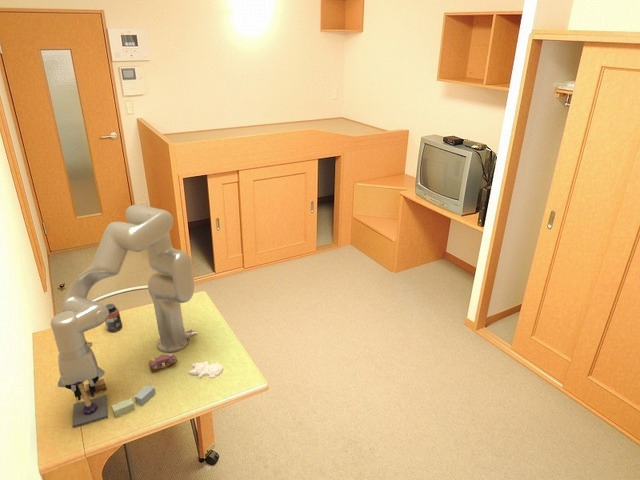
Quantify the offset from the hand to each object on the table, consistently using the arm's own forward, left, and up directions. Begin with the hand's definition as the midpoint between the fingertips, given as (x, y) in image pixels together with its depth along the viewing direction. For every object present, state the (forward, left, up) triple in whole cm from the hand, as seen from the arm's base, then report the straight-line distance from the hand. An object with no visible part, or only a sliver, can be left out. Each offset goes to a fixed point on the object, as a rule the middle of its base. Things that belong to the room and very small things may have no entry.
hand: (86, 395), depth 142 cm
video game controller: (-25, -13, -8) cm, 29 cm away
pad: (0, 0, -7) cm, 7 cm away
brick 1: (-2, -10, -7) cm, 12 cm away
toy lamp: (0, 0, -6) cm, 6 cm away
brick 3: (-17, +1, -7) cm, 19 cm away
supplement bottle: (-9, -46, -7) cm, 47 cm away
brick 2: (-10, +4, -7) cm, 13 cm away
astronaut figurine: (-38, -4, -8) cm, 40 cm away
